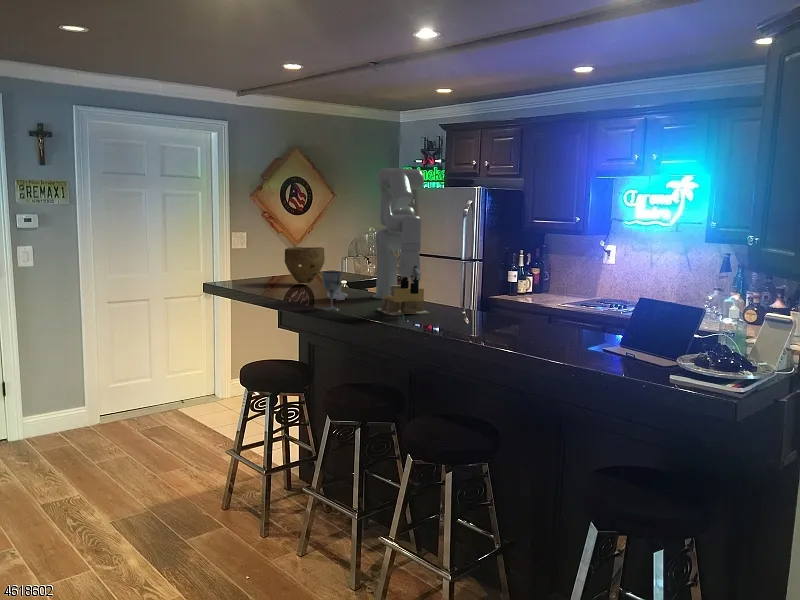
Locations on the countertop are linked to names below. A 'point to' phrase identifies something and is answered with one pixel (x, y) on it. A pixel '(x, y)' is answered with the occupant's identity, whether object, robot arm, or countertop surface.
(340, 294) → the seated beast figurine
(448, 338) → the countertop surface
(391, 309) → the stepped wooden block
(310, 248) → the bowl
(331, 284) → the wine glass
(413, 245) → the robot arm
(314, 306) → the countertop surface
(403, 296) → the tan wooden block
